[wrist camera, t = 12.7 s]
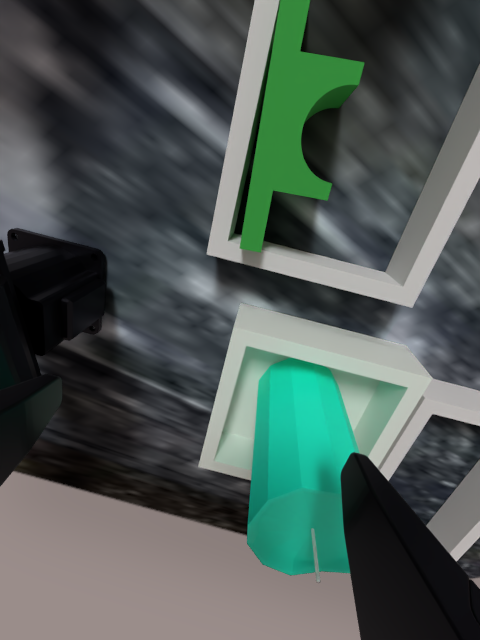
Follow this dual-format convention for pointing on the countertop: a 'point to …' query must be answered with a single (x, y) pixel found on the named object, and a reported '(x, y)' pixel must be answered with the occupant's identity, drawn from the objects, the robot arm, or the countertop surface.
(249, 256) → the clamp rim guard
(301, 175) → the pipe clamp
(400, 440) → the grey rectangular frame
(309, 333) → the bin
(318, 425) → the candle
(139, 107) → the countertop surface
